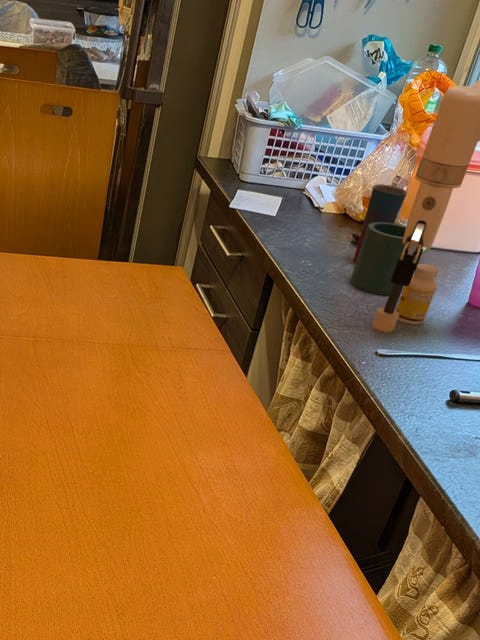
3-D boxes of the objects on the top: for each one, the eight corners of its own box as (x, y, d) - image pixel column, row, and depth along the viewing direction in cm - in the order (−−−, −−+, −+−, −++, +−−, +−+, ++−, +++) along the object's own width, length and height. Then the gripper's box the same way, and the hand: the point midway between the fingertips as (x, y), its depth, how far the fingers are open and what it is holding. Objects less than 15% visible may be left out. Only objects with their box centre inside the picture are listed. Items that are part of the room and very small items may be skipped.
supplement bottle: (397, 311, 180) (416, 260, 173) (425, 319, 178) (445, 267, 172) (390, 319, 176) (410, 267, 170) (419, 327, 174) (440, 275, 168)
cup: (350, 265, 199) (374, 190, 190) (348, 255, 205) (372, 182, 195) (382, 270, 199) (408, 196, 189) (379, 260, 204) (405, 187, 194)
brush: (384, 323, 174) (413, 246, 165) (398, 331, 172) (427, 253, 163) (367, 323, 173) (394, 246, 164) (380, 332, 170) (409, 254, 161)
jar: (380, 276, 196) (399, 221, 188) (411, 294, 188) (432, 238, 181) (340, 277, 192) (358, 222, 185) (369, 296, 185) (389, 239, 178)
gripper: (459, 188, 148) (418, 296, 159) (468, 167, 160) (429, 268, 171) (412, 178, 150) (374, 285, 161) (423, 158, 162) (388, 259, 174)
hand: (402, 276), depth 166 cm, fingers open, 8 cm apart
